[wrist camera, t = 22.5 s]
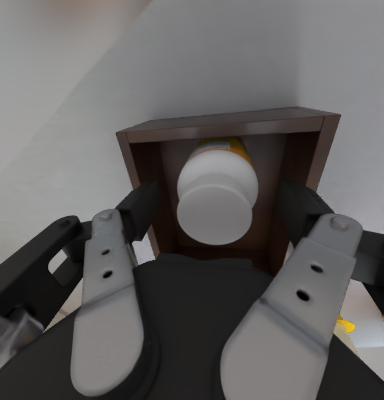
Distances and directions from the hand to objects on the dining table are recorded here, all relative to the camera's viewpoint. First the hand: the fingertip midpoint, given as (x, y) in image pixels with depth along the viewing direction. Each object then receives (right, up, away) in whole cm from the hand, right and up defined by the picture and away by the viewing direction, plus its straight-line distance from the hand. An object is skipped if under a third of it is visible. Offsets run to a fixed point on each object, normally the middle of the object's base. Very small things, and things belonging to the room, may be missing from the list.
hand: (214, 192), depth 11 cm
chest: (+2, 0, +9) cm, 9 cm away
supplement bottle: (+1, +4, +6) cm, 7 cm away
